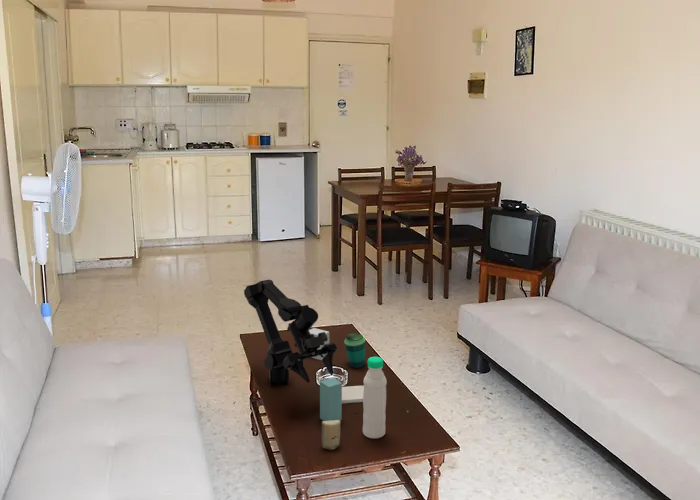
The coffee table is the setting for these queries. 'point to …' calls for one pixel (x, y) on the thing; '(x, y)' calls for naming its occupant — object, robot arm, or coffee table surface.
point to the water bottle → (374, 399)
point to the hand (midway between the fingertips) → (320, 378)
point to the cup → (355, 350)
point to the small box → (315, 333)
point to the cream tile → (352, 394)
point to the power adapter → (330, 434)
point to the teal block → (330, 400)
